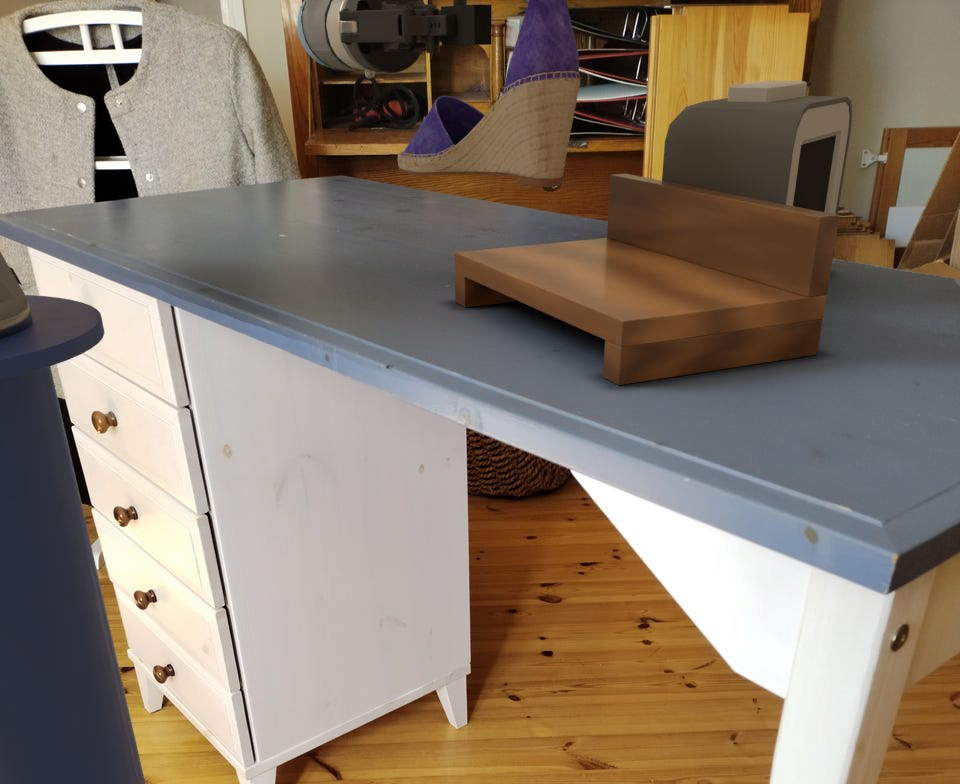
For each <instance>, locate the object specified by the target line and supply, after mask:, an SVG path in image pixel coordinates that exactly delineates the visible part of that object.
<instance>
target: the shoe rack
mask: <svg viewBox="0 0 960 784" xmlns="http://www.w3.org/2000/svg"><path fill="white" fill-rule="evenodd" d="M608 189H609V191H608V208H607V209H608V210H607V211H608V212H607V229H606V237H602V238H593V239H581V240H569V241H559V242H552V243H551V242H550V243H539V244H529V245H518V246H507V247H506V246H505V247H495V248H486V249H473V250H464V251H463V250H462V251H455V252H454V285H455V286H454V293H455V297H454V298H455V303H456V304H458V305H460V306H462V307H464V308H470V307H471V308H472V307H481V306H490V305H496V304H497V305H498V304H505V303H515V302H520V303H522V304H525V305H526V306H528V307H531V308H533V309H535V310H537V311H539V312H542V313H544V314H546V315H549V316H551V317H553V318H555V319H557V320H560V321H562V322H564V323H567V324H569V325H571V326H572V327H575V328H577V329H579V330H582V331H584V332H586V333H589V334H590V335H593V336H596V337H598V338H600V339H602V340H604V353H603V371H602V372H603V373H602V377H603V379H605V380H607V381H609V382H612V383H613V384H615V385H617V386H623V385H628V384H635V383H643V382H649V381H655V380H661V379H667V378H675V377H682V376H687V375H693V374H701V373H707V372H714V371H720V370H724V369H725V370H726V369H733V368H740V367H745V366H752V365H758V364H765V363H771V362H778V361H784V360H791V359H797V358H803V357H810V356H811V357H812V356H816V355H817V356H818V353H819V345H820V341H821V340H820V339H821V335H822V327H823V319H824V315H825V309H826V304H827V303H826V302H827V297H828V292H829V285H830V278H831V272H832V266H833V259H834V254H835V248H836V242H837V235H838V229H839V223H840V217H841V216H840V214H838V215H836V214H831V213H826V212H820V211H815V210H810V209H805V208H800V207H795V206H790V205H784V204H779V203H774V202H769V201H764V200H759V199H754V198H748V197H743V196H738V195H733V194H728V193H723V192H718V191H712V190H707V189H702V188H697V187H692V186H687V185H682V184H676V183H671V182H666V181H662V179H655V178H652V177H651V178H650V177H645V176H640V175H635V174H629V173H616V174H610V175H609V188H608Z"/></svg>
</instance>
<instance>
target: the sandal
mask: <svg viewBox="0 0 960 784" xmlns="http://www.w3.org/2000/svg"><path fill="white" fill-rule="evenodd" d="M523 2H524V3H526V4H527V6H526V10H525V13H524V16H523V20H522V22H521V26H520V28H519V32H518V35H517V38H516V41H515V45H514V47H513V51H512V54H511V57H510V60H509V64H508V68H507V72H506V77H505V81H504V86H503V89H502V90H503V91H502V95H501V96H500V97H499V98H498V100H497V101H495V103H494V104H493V105H492V106H491V108H490V109H489V110H488V111H487V112H486V113H483V112H482V111H481V110H479V109H478V108H476V107H475V106H473V105H471V104H469V103H467V102H466V101H465V100H463V99H460V98H457V97H454V96H452V95H451V96H450V95H440V96H438V97H437V98H436V99H435V101H434V102H433V104H432V106H431V108H430V109H429V111H428V112H427V114H426V115H425V117H424V120H423V121H422V123H421V124H420V126H419V128H418V130H416V132H415V134H414V135H413V137H412V138H411V140H410V141H409V143H408V144H407V146H406V147H405V149H404V151H400V152H398V154H397V165H398V170H399V171H400V172H401V173H404V174H407V175H413V176H463V175H464V176H472V175H473V176H493V177H504V178H505V177H506V178H511V179H516V180H517V181H516V182H517V184H519V185H525V186H529V187H537V188H554V187H560V186H563V177H564V171H565V166H566V161H567V155H568V154H567V153H568V149H569V142H570V137H571V132H572V127H573V122H574V118H575V117H574V116H575V112H576V107H577V100H578V96H579V90H580V86H581V80H582V79H581V75H580V58H579V50H578V45H577V41H576V36H575V33H574V29H573V25H572V19H571V15H570V11H569V6H568V1H567V0H523Z"/></svg>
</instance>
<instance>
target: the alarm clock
mask: <svg viewBox="0 0 960 784" xmlns="http://www.w3.org/2000/svg"><path fill="white" fill-rule="evenodd" d="M807 85H808V83H807V82H806V80H805V81H804V80H766V81H765V80H764V81H759V82H750V83H749V82H748V83H742V84H732V85H730V86H729V87H728V94H727V97H725V98H719V99H712V100H711V99H710V100H705V101H704V100H703V101H701V102H698V103H694V104H690V105H687V106H685V107H684V108H683V110H682V111H681V112H680V113H678V115H677V116H676V117H675V118H674V119H673V120H672V121H671V122H670V123H669V124H668V128H667V133H666V135H665V139H664V146H663V147H664V148H663V160H662V162H663V163H662V173H661V181H666V182H671V183H676V184H682V185H687V186H692V187H697V188H702V189H707V190H712V191H718V192H723V193H728V194H733V195H738V196H743V197H748V198H754V199H759V200H764V201H769V202H774V203H779V204H784V205H790V206H795V207H800V208H805V209H810V210H815V211H820V212H826V213H831V214H836V215H839V208H840V201H841V196H842V189H843V182H844V177H845V169H846V164H847V157H848V152H849V146H850V139H851V133H852V121H853V107H852V100H851V99H850V97H848V96H836V95H835V96H831V95H828V96H827V95H806V92H807Z"/></svg>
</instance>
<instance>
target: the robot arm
mask: <svg viewBox="0 0 960 784" xmlns="http://www.w3.org/2000/svg"><path fill="white" fill-rule="evenodd" d="M452 2H453V3H452V4H453V5H445V6H443V5H442V6H440V9H439V8H437V5H436V4H434V3H432V4H431V3H425V1H421V0H303V1H302V3H301V5H300V8H299V10H298V14H297V23H296V24H297V33H298V37H299V41H300V44H301V46H302V47H303V49H304V50H305V52H306V54H308V56H309V57H310V58H311V59H312V60H313V61H315V62H316V63H318V64H319V65H321V66H325V67H327V68H330V69H332V70H333V71H352V72H353V71H357V72H359V71H360V72H364V76H365V78H367V79H373V78H374V77H375V76H376V75H375V73H382V74H383V73H384V74H397V73H401V72H403V71H405V70H408V69H409V68H411V67H412V66H413V65H414V64H415V63H416V62H417V61H418V59H419V58H420V57H421V55H422V53H425V54H440V53H441V49H440V47H441V46H440V43H441V45H442V46H445V45H446V46H448V45H449V46H490V45H491V46H492V42H493V41H492V40H493V39H492V34H493V33H492V29H493V28H492V20H493V19H492V11H493V10H492V4H483V3H481V4H477V3H475V4H468V0H452ZM21 286H23V283H22V282H21V281H20V279H19V277H18V275H17V274H16V271H15V270H14V268H13V267H10V266H9V264H8V262H7V261H6V259H5V257H4V255H3V254H2V252H1V251H0V339H1V338H5V337H8V336H10V335H13V334H16V333H18V332H20V331H22V330H24V329H25V328H27V327H28V326H29V325H30V324H31V323H32V317H31V312H30V308H29V304H28V302H27V299H26V296H25V295H26V294H25V292H24V290H23V288H22V287H21Z"/></svg>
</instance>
